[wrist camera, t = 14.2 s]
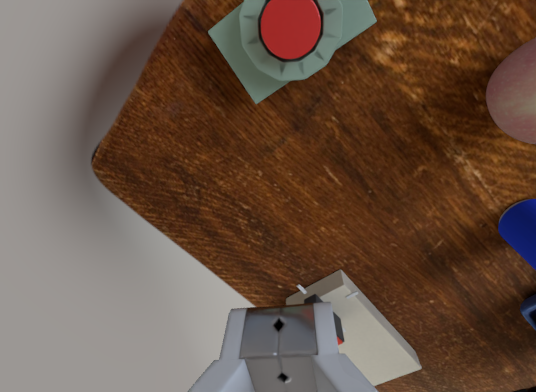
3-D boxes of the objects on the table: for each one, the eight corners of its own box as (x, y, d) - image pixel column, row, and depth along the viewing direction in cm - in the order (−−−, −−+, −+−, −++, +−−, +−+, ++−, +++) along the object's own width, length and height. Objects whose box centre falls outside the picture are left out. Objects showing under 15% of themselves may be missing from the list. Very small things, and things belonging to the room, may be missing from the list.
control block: (261, 99, 27) (255, 112, 22) (214, 28, 24) (198, 28, 20) (368, 25, 23) (386, 24, 19) (327, -64, 21) (336, -89, 17)
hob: (267, 286, 37) (265, 303, 35) (330, 250, 34) (333, 266, 32) (359, 372, 44) (363, 391, 42) (419, 349, 41) (427, 368, 39)
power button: (281, 68, 21) (281, 71, 19) (251, 18, 20) (248, 17, 18) (328, 35, 20) (331, 35, 18) (299, -21, 19) (301, -25, 17)
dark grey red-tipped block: (303, 299, 34) (304, 323, 31) (315, 293, 34) (317, 317, 31) (329, 324, 36) (332, 349, 33) (340, 318, 35) (345, 343, 33)
